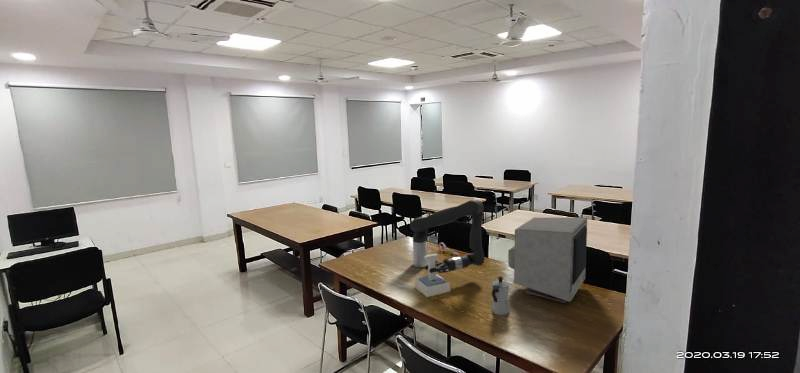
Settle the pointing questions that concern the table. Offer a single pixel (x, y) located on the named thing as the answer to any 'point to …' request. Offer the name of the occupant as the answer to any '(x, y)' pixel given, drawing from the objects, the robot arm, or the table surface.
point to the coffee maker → (500, 297)
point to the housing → (432, 288)
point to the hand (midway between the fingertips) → (427, 269)
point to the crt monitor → (550, 257)
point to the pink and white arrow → (447, 249)
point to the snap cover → (432, 277)
